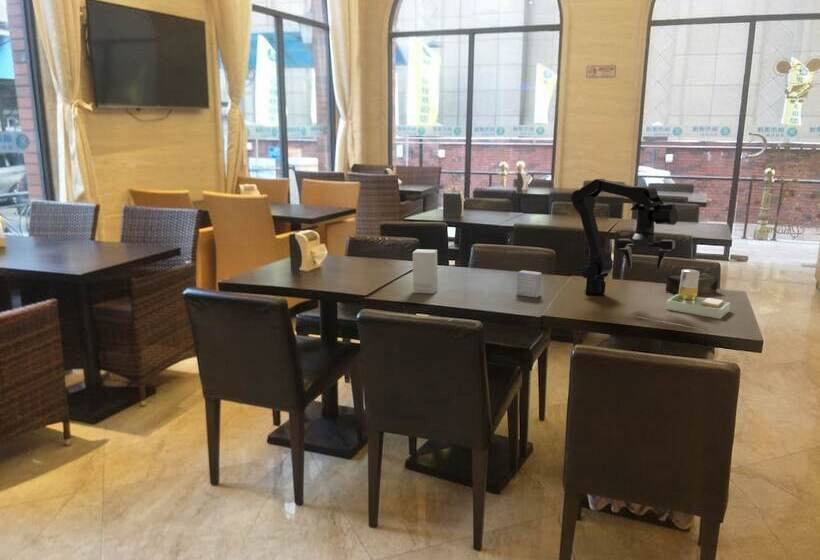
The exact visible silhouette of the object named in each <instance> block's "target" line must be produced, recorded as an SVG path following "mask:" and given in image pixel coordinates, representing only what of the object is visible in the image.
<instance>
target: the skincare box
mask: <svg viewBox="0 0 820 560" xmlns="http://www.w3.org/2000/svg"><path fill="white" fill-rule="evenodd" d="M438 273H439V272H438V249H427V248H426V249H420V248H417V249H415V250H414V251H413V252H412V291H413V293H415V294H430V295H434V294H435V293H436V292H437V291H438V290H439V289H438V288H439V287H438Z"/></svg>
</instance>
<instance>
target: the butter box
mask: <svg viewBox="0 0 820 560" xmlns="http://www.w3.org/2000/svg"><path fill="white" fill-rule="evenodd" d="M704 299H705V300H704V301H702V304H701V306H705V307H711V308H717V309H721V308H722V307H723V304H724V302H725V301H724V299H717V298H713V297H707V298H704Z"/></svg>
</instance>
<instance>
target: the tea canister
mask: <svg viewBox="0 0 820 560" xmlns="http://www.w3.org/2000/svg"><path fill="white" fill-rule="evenodd" d="M680 272H681V273H680V276H681V279H680V285H679V294H678V302H682V303H688V304H694V305H696V300H697V297H698V294H697V292H698V281H699V274H700V270H698V269H697V270H696V269H691V268H683V269H681V271H680Z"/></svg>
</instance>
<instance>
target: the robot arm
mask: <svg viewBox="0 0 820 560" xmlns="http://www.w3.org/2000/svg"><path fill="white" fill-rule="evenodd" d="M602 192H604V193H608V194H612V195H617V196H621V197H626V198H627V199H629V200H630V201H632V202H634V203H635V204H634V205H633V206H632V207H631V208H630V210H631V211H636V222H635V223H636V224H635V225H636V227H635V233H634V234H633V236H632V240H631V238H618V239H617V240H616V241H615V244H614V245H615V249H618V250H619V251H621V252H622V253H623V255H624V256H625V258H626V261H627V264H628V267H629V269H632V267H633V256H632V255H633V254H632V253H633V251H632V247H633V248H643V249H645V248H647V249H648V248H660V249H659V250H658V259H657V265H656V266H657V270H660V268H661V266H662V263H663V261H664V258H665V256H666V254H667V253H668V252H671V251H672V250H674V249H675V248H676V241H675V240H674V239H661V240H660V241H656V233H655V224H656V225H669V226H670V225H671V226H675V225H677V223H678V220H679V213H678V210H677V208H676V204H675V203H670V204H669V203H668V204H665V203H664V202H663V201H662V199H661V197H660V196H659V195H658V191H657V189H656V188H655V187H654V186H650V185H649V186H646V185H645V186H643V185H642V186H641V185H640V186H637V185H634V186H633V185H628V184H624V183H620V182H616V181H611V180H608V179H607V180H606V179H605V178H596V179H594V180H592V181H591V182H590V183H588V184H586V185H584V186H583V187H581V188H579V189H577V190H574V191H573V192H572V194H571V196H570V201H571V204H572V206H573V209H574V210H575V211H576V212H577V213H578V215H579V216H580V220H581V223H582V227H583V231H584V235H585V239H586V243H587V246H588V249H589V255H588V259H587V262H588V267H587V268H585V269H584V270H582V278H583V279H585V286H584V291H583V292H584V294H585V295H587V296H602V295H603V296H604V295H605V292H606V284H607V283H606V281H605V278H606V277H608V276H609V273H610V272H611V271H612V269H613V266H614V265H613V264H614V260H613V259H612V253H611V252H609V251H608V252H607V251H606V250H605V249H604V247H603V242H602V239H601V236H600V235H601V234H600V231H599V228H598V224H597V220H596V217H595V213H594V210H595V205H596V201H595V199H596V198H597V197H598V196H599V195H601V193H602Z"/></svg>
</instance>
